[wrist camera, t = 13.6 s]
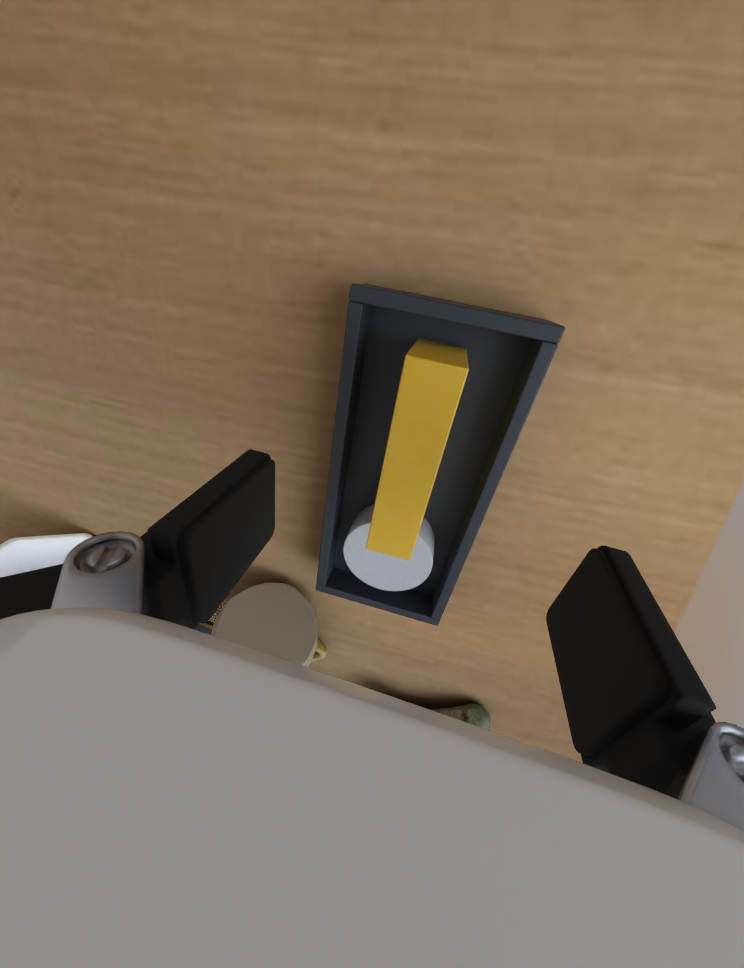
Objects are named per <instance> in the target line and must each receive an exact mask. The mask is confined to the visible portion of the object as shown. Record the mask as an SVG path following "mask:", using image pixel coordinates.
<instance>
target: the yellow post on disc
mask: <svg viewBox="0 0 744 968" xmlns="http://www.w3.org/2000/svg"><path fill="white" fill-rule="evenodd" d="M468 371H469V368H468V359H467V350H466V348H464V347H460V346H455V345H450V344H445V343H441V342H436V341H431V340H427V339H422V338H418V340H417V341H416V342H415V344H414V345H413V346H412V348H411V349H410V350H409V352H408V353H407V354H406V356H405V359H404V364H403V369H402V374H401V379H400V384H399V388H398V393H397V398H396V403H395V408H394V413H393V417H392V422H391V427H390V432H389V437H388V442H387V447H386V451H385V456H384V461H383V466H382V471H381V476H380V480H379V485H378V490H377V495H376V500H375V504H373V505H371V506H368V507H367V508H365V509H363V510H362V511H361V512H360V513H359V514H358V515H357V516H356V518H355V520H354V522H353V524H352V526H351V529H350V531H349V533H348V535H347V538H346V540H345V543H344V548H343V552H344V558H345V561H346V563H347V565H348V567H349V569H350V570H351V571H352V572H353V574H354V575H355V576H356V577H358V578H359V579H360V580H362V581H363V582H365V583H366V584H368V585H370V586H372V587H375V588H378V589H382V590H387V591H404V590H408V589H412V588H414V587H416V586H418V585H420V584H421V583H422V582H424V581H425V580H426V579H427V577H428V576H429V574H430V572H431V570H432V566H433V555H434V544H435V537H434V533H433V530H432V527H431V526H430V524H429V522H428V521H427V520H426V519H425V518H424V514H425V511H426V508H427V504H428V501H429V498H430V495H431V491H432V488H433V485H434V482H435V478H436V475H437V472H438V469H439V465H440V462H441V459H442V456H443V452H444V449H445V446H446V443H447V439H448V436H449V433H450V430H451V426H452V423H453V420H454V417H455V413H456V410H457V407H458V404H459V400H460V397H461V394H462V391H463V387H464V384H465V381H466V378H467V374H468Z"/></svg>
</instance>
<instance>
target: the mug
mask: <svg viewBox="0 0 744 968" xmlns="http://www.w3.org/2000/svg"><path fill="white" fill-rule="evenodd" d="M211 635H212V636H215V637H219V638H222V639H225V640H228V641H231V642H234V643H237V644H240V645H243V646H246V647H249V648H252V649H254V650H257V651H260V652H263V653H266V654H269V655H272V656H275V657H278V658H281V659H284V660H287V661H290V662H293V663H296V664H299V665H301V666H304V667H308V665H309V664H310V662H314V661H318V660H321V659H323V658H324V657H325V656H326V653H327V651H326V648H325V646H324V645H323V643H322V642H320V641H319V640H318V625H317V619H316V610H315V607H314V606H313V604H312V603H311V602H309V601H308V600H307V599H306V598H305V597H304V596H303V595H302V594H301V592H300V591H299V590H298V589H296V588H295V587H293V586H291V585H288V584H284V583H266V582H265V583H264V584H259V585H255V586H252V587H250V588H248V589H246V590H244V591H241V592H240V593H238V594H237V595H235V596H233V597H232V598H231V599H229V600H228V601H227V602H226V604H225V605H224V606H223V608H222V609H221V611H220V612H219V614H218V616H217V618H216V620H215V622H214V625H213V629H212V634H211ZM315 651H316V652H315Z"/></svg>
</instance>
